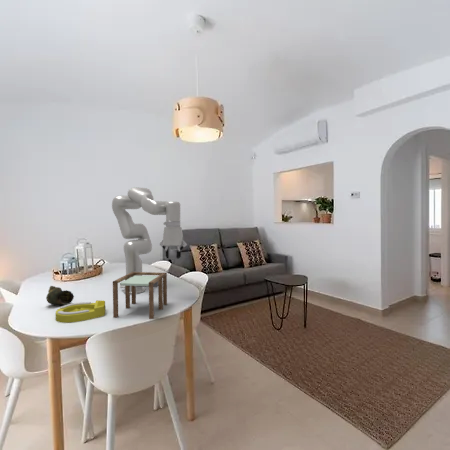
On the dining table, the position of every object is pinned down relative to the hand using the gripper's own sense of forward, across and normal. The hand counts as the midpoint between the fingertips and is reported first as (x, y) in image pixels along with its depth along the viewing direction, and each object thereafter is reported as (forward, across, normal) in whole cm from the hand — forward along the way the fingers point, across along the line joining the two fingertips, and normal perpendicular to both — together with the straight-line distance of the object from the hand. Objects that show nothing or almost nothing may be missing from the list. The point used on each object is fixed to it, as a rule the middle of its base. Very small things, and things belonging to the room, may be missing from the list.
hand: (173, 257), depth 152 cm
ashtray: (+25, -38, -24) cm, 51 cm away
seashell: (+25, -58, -12) cm, 64 cm away
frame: (+24, -12, -15) cm, 31 cm away
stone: (+1, 0, 0) cm, 1 cm away
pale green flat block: (+14, -12, -15) cm, 23 cm away
